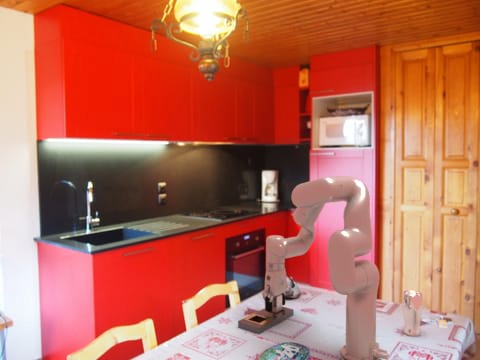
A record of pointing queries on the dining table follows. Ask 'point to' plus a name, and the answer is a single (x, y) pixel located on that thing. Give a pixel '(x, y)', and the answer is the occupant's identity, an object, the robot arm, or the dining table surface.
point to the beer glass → (412, 312)
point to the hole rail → (264, 320)
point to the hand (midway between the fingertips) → (275, 307)
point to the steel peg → (276, 304)
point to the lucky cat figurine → (292, 289)
